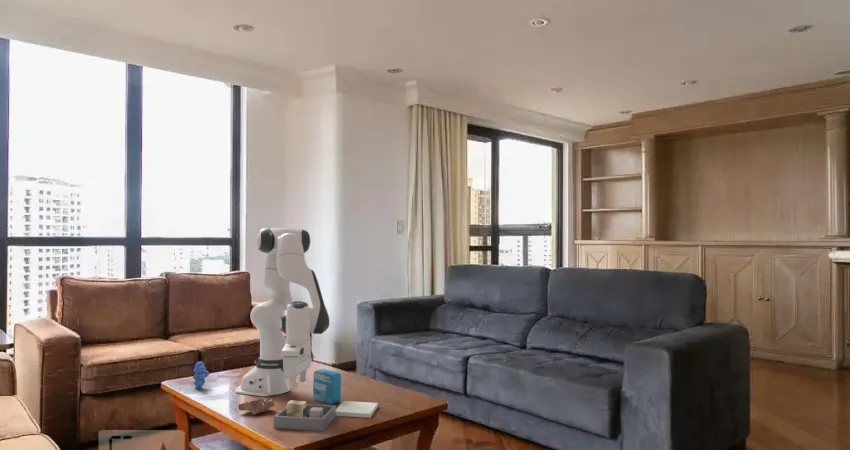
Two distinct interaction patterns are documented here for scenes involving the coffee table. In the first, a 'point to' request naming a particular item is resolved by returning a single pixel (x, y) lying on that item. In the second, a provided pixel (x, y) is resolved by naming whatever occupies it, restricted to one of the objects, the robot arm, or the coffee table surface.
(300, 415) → the birch box
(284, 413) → the bin
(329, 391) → the data package
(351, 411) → the board
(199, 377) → the grapes
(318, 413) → the grey box
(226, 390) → the coffee table surface
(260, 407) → the mineral specimen
